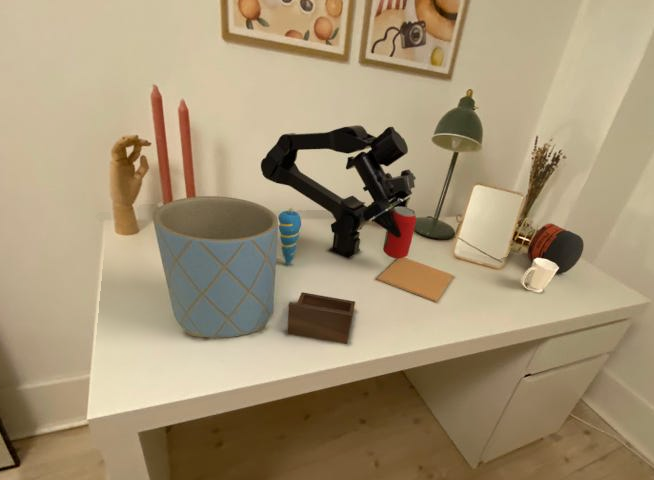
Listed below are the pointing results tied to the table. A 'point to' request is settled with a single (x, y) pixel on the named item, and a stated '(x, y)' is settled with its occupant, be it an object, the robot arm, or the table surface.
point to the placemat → (416, 278)
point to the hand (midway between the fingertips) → (404, 232)
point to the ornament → (289, 233)
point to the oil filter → (556, 247)
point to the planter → (218, 263)
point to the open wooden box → (321, 318)
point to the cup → (539, 274)
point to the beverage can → (406, 226)
